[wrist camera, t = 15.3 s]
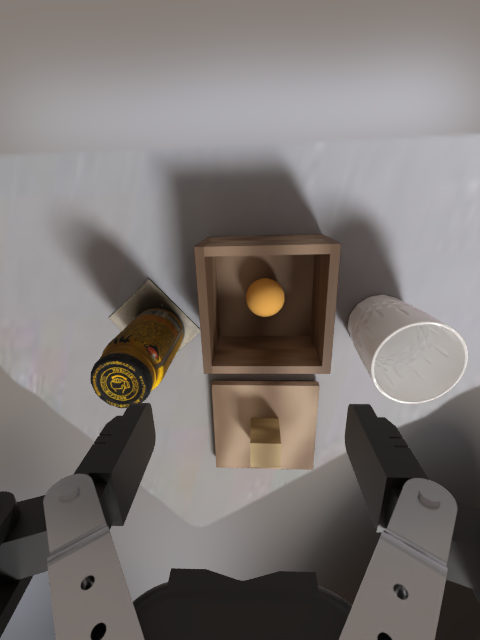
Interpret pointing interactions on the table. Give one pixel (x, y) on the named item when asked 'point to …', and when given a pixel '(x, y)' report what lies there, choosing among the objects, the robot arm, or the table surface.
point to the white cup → (406, 349)
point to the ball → (265, 297)
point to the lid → (265, 423)
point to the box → (279, 329)
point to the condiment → (141, 347)
